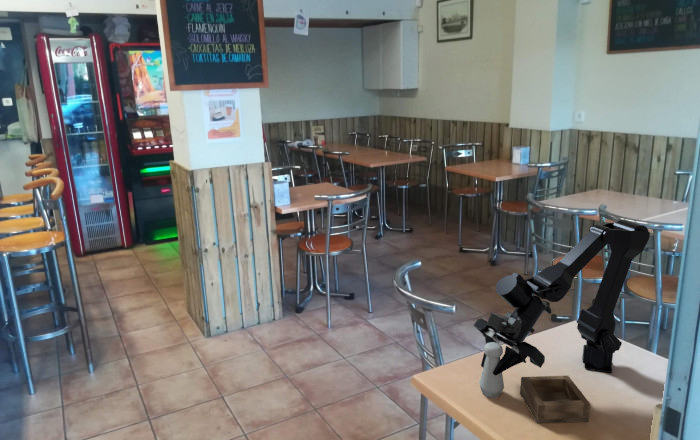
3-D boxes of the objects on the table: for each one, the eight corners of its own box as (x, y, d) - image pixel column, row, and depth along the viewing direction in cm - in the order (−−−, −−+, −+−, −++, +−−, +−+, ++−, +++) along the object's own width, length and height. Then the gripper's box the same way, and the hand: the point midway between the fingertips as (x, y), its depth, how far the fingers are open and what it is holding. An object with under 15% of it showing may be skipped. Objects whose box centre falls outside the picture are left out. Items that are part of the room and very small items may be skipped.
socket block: (566, 391, 126) (568, 375, 125) (588, 421, 115) (590, 403, 114) (520, 393, 126) (521, 377, 125) (537, 423, 115) (538, 405, 114)
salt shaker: (504, 401, 123) (507, 352, 120) (479, 399, 124) (481, 350, 121) (502, 387, 128) (505, 340, 125) (478, 385, 130) (480, 338, 126)
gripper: (480, 288, 130) (444, 339, 128) (539, 315, 114) (500, 374, 112) (502, 310, 136) (468, 359, 133) (561, 339, 120) (524, 395, 117)
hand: (488, 370), depth 124 cm, fingers open, 4 cm apart
